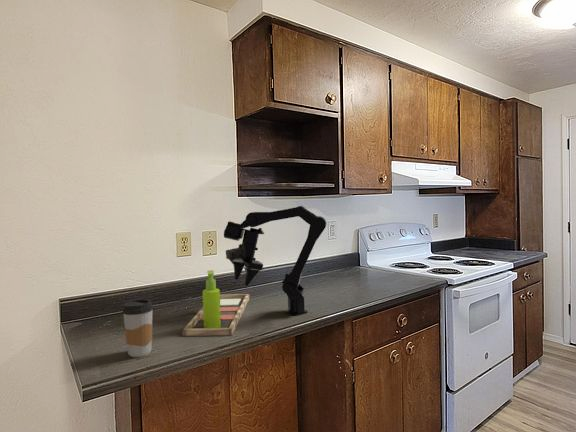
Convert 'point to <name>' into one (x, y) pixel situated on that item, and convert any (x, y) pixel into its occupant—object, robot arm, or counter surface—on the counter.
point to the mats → (227, 309)
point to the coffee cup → (138, 326)
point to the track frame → (217, 331)
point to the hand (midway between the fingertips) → (240, 282)
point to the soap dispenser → (211, 303)
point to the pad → (229, 302)
